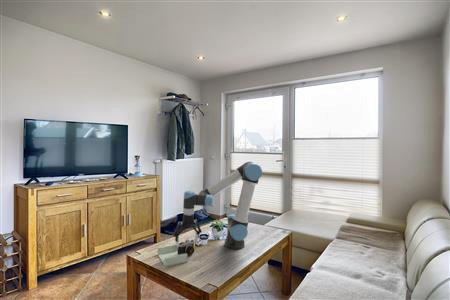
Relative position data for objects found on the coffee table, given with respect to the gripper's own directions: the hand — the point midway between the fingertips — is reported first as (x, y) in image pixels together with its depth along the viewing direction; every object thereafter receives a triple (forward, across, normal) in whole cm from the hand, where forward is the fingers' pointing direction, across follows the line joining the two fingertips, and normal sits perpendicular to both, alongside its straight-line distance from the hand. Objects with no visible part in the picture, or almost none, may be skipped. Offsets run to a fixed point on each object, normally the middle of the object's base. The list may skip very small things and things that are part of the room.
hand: (186, 244), depth 165 cm
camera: (+6, 0, 0) cm, 6 cm away
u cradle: (+7, +11, +2) cm, 13 cm away
